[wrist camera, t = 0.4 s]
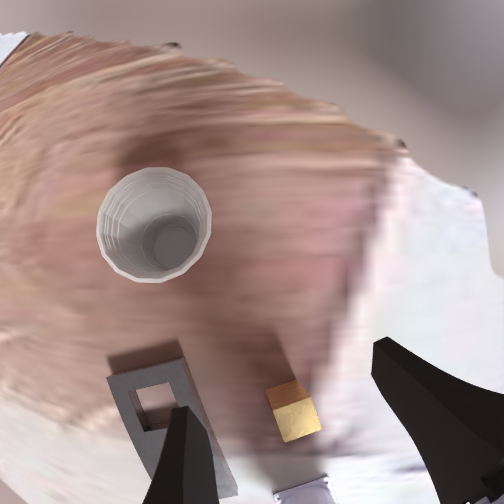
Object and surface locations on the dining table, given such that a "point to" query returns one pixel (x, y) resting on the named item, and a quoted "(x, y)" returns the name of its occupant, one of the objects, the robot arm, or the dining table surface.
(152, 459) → the steel frame
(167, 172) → the plastic cup
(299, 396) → the wooden peg
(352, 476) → the dining table surface
